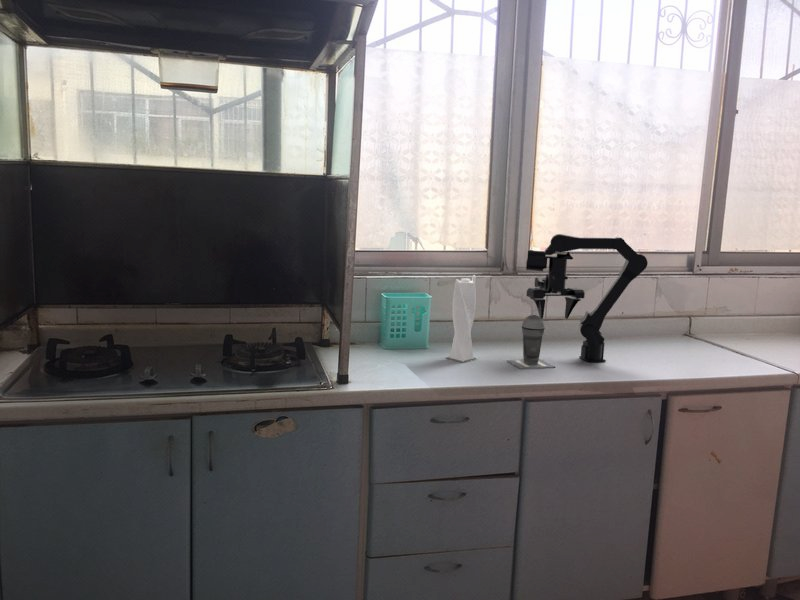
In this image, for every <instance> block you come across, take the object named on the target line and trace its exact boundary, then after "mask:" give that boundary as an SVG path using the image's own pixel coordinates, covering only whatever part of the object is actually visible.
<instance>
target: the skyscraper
mask: <svg viewBox="0 0 800 600" xmlns="http://www.w3.org/2000/svg"><path fill="white" fill-rule="evenodd" d="M476 279H477V276H476V275H475V274H473V275H472V277H471V278H467V277H466V278H465V277H464V278H461V279H460V280H459V279H458V278H456V279H455V284H454V287H453V288H454V290H453V295H452V306H451V307H452V308H451V309H452V310H451V311H452V313H451V315H452V323H453V328H454V329H453V330H454V334H453V338H452V339H453V340H452V346H451V350H450V355H449V356H446V357H445V359H447V360H451V361H456V362H459V363H462V362H464V363H467V362H471V360H472V361H475V359H476V360H477V357H474V355H473V342H472V334H471V333H472V332H471V331H472V328H473V324H474V321H475V316H476V308H477V291H476V290H477V289H476V288H477V287H476Z"/></svg>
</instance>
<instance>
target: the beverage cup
mask: <svg viewBox="0 0 800 600" xmlns="http://www.w3.org/2000/svg"><path fill="white" fill-rule="evenodd" d="M533 309H534V308H533V300H530V313H531V314H530V315H528V316H526V317H525V318H524V319H523V322H522V325H521V328H522V329H521V333H522V344H523V345H522V355H523V360H524V363H525V364H528V365H537V364H538V360H539V359H540V354H541V347H542V340H543V336H544V333H545V329H546V327H545V322H544V320H543V319H541V318H540V316H539V315H534V310H533Z"/></svg>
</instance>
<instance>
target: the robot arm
mask: <svg viewBox="0 0 800 600" xmlns="http://www.w3.org/2000/svg"><path fill="white" fill-rule="evenodd" d="M549 243H550V244H549V245H548V246H547V247H546V248H545V249H544V251H543V250H542V251H541V250H539V251H538V250H533V249H532V250H531V249H529V250H527V258H526V267H525V271H526V272H527V271H529V272H531V271H532V272H544V270H546V269H547V268H548V270H547V271H548V273H547V274H546V275H545V278H544V279H543V278H542V277H541V276H539V277H535V278H534V287H528V288H527V290H526V297H528V298H529V299H530V300H531V301H534V303H535V307H536V308H537V311H538V316H539V317H540V318H541V319H542V320H543V318H544V313H545V307H546V299H544V298H545V297H564V299H565V311H564V319H566V320H568V318H570V317H569V316H570V315H571V314H572V311H573V309H575V306H577V304H578V303H579V302H581V301H582V299H585V297H586V296H585V295H586V292H585V290H584V289H582V288H578V287H567V288H566V281H567V280H568V279H569V276H568V275H567V265H568V260H571V261H572V260H573V259H574V257H573V255H571V254H570V252H572V251H575V250H615V251H617V252H618V253H619V254H620V255H621V256H622V258H624V259H625V262H624V264H623V266H622V268H621V270H620V273H619V275H618V276H617V278H616V280H615V281H614V282H613V284H612V285H611V286H610V288H609V289H608V290H607V292H606V293H605V294H604V296H603V297H602V299H601V300H600V301H599V303H598V304H597V306H596V307H595V308H594V310H592V311H591V312H589V311H588V310H586V311H585V312H584V315H583V317H582V318H580V319H579V322H580V323H579V325H578V328H579V331H580V333H581V336H582V337H583V338H585V340H583V341H582V345H581V350H580V355H579V356H578V357H579V359H581V360H584V361H586V362H588V363H596V362H597V363H599V362H601V363H602V362H605V363H606V361H607V359H604V352H605V337H604V335H603V334H602V332H601V331H600V330H601V327H602V326H603V323H604V320H605V319H606V317H607V314H608V313H609V312H610V310H611V309H612V308H613V307H614V305H615V304H616V302H617V301H618V300H619V298H620V297H621V295H622V294H623V293H624V291H625V290H626V289H627V287H628V286H629V284H630V283H631V282H632V281H633V280H635V279H636V278H637V277H639V276H640V275H641V274H642V273H643V272H644V271H645V270H646V269H647V267H648V258H647V257H646V256H645V255H644V254H642V253H640V252H636V251H635V250H634V249H633V248H632V247H631V246H630V245H629V244H628V243H627V242H626V241H625V239H624V238H623V237H619V236H616V237H579V236H573V235H568V234H563V233H558V234H557V233H556V234H555V235H553V236H551V239H550V242H549ZM565 252H566V253H565ZM554 254H556V256H554ZM548 260H549V261H548ZM547 266H548V267H547Z"/></svg>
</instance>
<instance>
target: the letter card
mask: <svg viewBox="0 0 800 600" xmlns="http://www.w3.org/2000/svg"><path fill="white" fill-rule="evenodd" d="M507 361H508V362H507ZM506 362H507V363H509V364H511V365H512V364H513V365H512V366H514V367H516V368H517V367H518V369H519V368H520V369H519V370H530V369H529V368H537V369H555V368H556V365H553V364H551V363H550V362H547V361H545V360H543V359H541V358H539V360H538V364H537V365H528V364H525V363H524V359H507V360H506ZM554 367H555V368H554Z"/></svg>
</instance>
